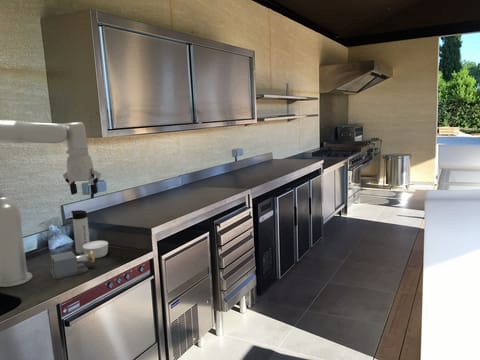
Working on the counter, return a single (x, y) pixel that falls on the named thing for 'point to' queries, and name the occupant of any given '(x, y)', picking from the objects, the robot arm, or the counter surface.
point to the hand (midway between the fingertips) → (84, 193)
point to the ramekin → (96, 248)
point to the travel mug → (80, 229)
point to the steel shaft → (86, 257)
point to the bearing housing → (66, 265)
